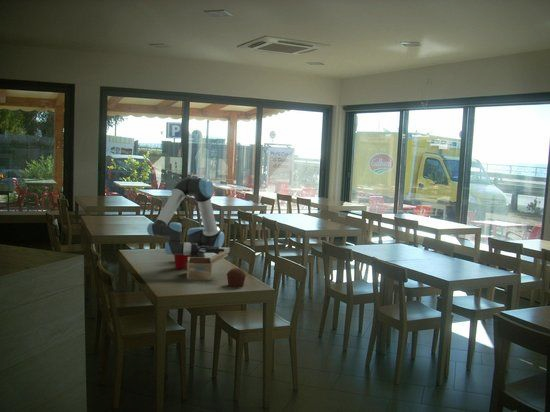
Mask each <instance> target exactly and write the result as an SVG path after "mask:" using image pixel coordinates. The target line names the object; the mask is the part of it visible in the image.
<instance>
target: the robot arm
mask: <svg viewBox="0 0 550 412" xmlns="http://www.w3.org/2000/svg"><path fill="white" fill-rule="evenodd" d="M214 193H215V186H214V183H213V182H212V180H210V179H207V178H197V177H186V178H183V179H181V180H180V181H179V182H177V183H176V184H175V185H174V187H173V188H172V190H171V195H170V196H169V198H168V200H167V201H166V203H165V205H164V206H163V208H162V209H161V212H160V213H159V215H158V216H157V218H156V220H155V221H154V223H153V222H151V223H149V224H148V226H147V228H146V231H147V235H149V236H153V237H161V238H168V241H166V242H165V243H164V253H165V254H166V255H172V256H174V255H185V256H186V255H188V257H201V258H206V256H205V254H219V253H221V252H226V253H227V254H229V253H230V250H231V249H230V247H222V246H223V245H224V242H225V232H223V231H221V229H220V227H219V226H217V222H216V218H215V214H214V209H213V204H212V200H211V198H212V196H213V195H214ZM187 196H193V199H194V201H195V202H196V203H197V205H198V210H199V214H200V217H201V221H202V226H203V227H202V226H201V227H199V226H198V227H192V228H190V227H189V228H188V230H187V231H186V232H187V234H186V242H185V241H184V242H182V231H183V230H182V227H183V226H182V223H181V222H176V221H173V222H170V221H171V219H172V218H173V216H174V215H175V213H176V211H177V209H178V207H179V206H180V204H181V202H182V201H183V200H184V199H185V198H186V197H187ZM187 262H188V258H187ZM187 262H186V263H187Z"/></svg>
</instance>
